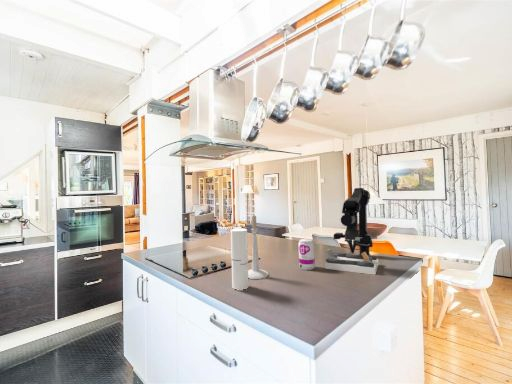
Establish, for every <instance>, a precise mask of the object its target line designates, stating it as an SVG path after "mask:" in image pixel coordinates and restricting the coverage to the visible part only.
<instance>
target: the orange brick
mask: <svg viewBox="0 0 512 384" xmlns="http://www.w3.org/2000/svg"><path fill="white" fill-rule="evenodd" d="M361 255H362V256H363V258H364V260H370V259H369V257H368V255H367V254H366V252H363V253H362V254H361Z"/></svg>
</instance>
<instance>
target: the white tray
mask: <svg viewBox="0 0 512 384" xmlns="http://www.w3.org/2000/svg"><path fill="white" fill-rule="evenodd" d="M334 256H335V257H330V256H329V255H328V258H327V259H337V260H352V261H360V262H367V263H373V264H374V267H366V266H358V265H351V264H337V263H328V262H326V261H325V262H324V263H325V264H324V267H325V268H324V269H326V270H333V271H334V270H336V271H342V272H351V273H360V274H366V275H367V274H368V275H376V273H377V271H378V268H379V259H378V258H377V259H376V260H372V257H369V259H370V260H364V259H356V258H347V257H339V256H337V254H334Z"/></svg>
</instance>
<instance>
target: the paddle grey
mask: <svg viewBox="0 0 512 384" xmlns="http://www.w3.org/2000/svg"><path fill="white" fill-rule="evenodd" d="M326 253H327V255H328V257H329V256H330V257H335V256H334V252H333V250H332V248H328V249H327V250H326Z"/></svg>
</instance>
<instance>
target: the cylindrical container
mask: <svg viewBox="0 0 512 384" xmlns="http://www.w3.org/2000/svg"><path fill="white" fill-rule="evenodd" d="M248 250H249V249H248V229H247V228H234V229H230V255H231V257H230V258H231V288H234V289H237V290H236V291H244V290H243V289H246V290H247V288H248V287H249V279H248V270H249V258H248V257H249V254H248V252H249V251H248ZM234 289H233V290H234ZM248 289H249V288H248Z"/></svg>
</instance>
